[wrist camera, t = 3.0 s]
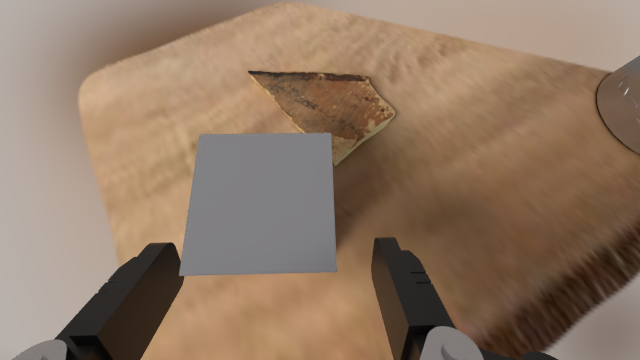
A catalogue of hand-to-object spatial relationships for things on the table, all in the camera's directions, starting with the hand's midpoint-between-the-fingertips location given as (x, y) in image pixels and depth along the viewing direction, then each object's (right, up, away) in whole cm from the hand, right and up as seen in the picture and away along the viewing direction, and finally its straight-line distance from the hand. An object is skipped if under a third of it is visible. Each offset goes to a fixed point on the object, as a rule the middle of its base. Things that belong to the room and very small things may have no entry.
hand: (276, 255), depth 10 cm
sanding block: (0, -1, +7) cm, 7 cm away
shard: (+2, +8, +11) cm, 13 cm away
